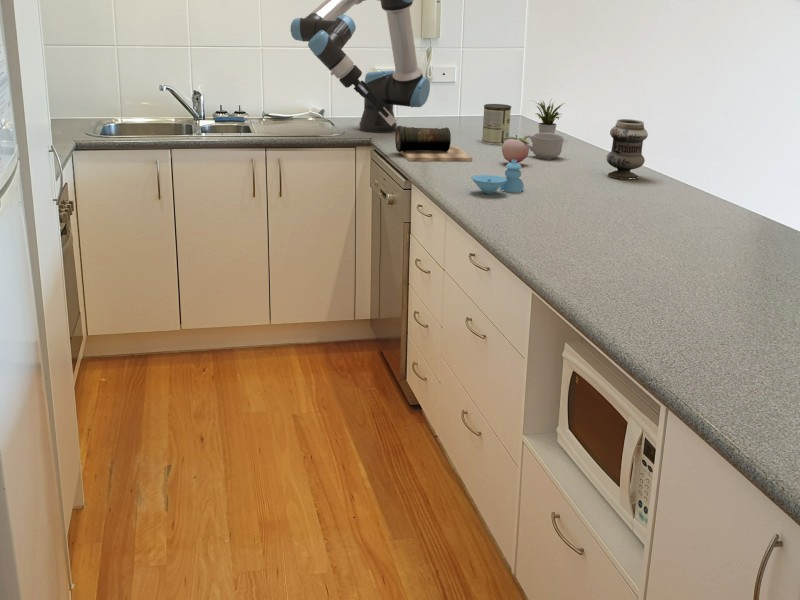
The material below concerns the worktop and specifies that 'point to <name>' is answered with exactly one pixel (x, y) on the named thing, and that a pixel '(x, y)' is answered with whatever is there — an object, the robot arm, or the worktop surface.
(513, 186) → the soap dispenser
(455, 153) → the wooden cutting board
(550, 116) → the house plant
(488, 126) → the coffee can
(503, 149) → the decorative fruit
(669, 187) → the worktop surface
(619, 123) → the apothecary jar
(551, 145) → the teacup
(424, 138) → the container
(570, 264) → the worktop surface
